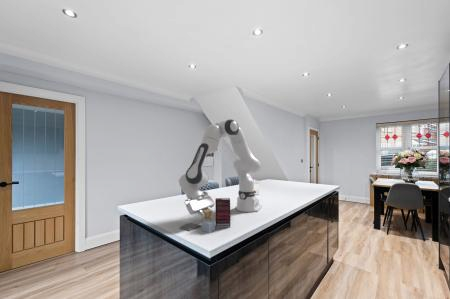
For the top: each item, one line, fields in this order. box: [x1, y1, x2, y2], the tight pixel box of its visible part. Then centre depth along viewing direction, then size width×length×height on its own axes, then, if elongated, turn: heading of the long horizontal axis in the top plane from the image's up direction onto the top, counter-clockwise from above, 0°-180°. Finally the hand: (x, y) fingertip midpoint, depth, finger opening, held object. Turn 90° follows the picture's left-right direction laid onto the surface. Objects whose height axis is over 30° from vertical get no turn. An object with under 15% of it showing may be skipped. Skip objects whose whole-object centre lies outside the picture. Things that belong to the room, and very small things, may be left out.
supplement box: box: [214, 197, 231, 229], centre depth 118 cm, size 9×5×16 cm, turn 92°
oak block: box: [201, 209, 213, 223], centre depth 120 cm, size 4×4×8 cm
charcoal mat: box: [179, 222, 202, 232], centre depth 116 cm, size 9×8×1 cm
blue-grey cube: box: [201, 219, 216, 234], centre depth 111 cm, size 5×5×5 cm
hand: (208, 215), depth 119 cm, fingers closed on oak block, 4 cm apart
